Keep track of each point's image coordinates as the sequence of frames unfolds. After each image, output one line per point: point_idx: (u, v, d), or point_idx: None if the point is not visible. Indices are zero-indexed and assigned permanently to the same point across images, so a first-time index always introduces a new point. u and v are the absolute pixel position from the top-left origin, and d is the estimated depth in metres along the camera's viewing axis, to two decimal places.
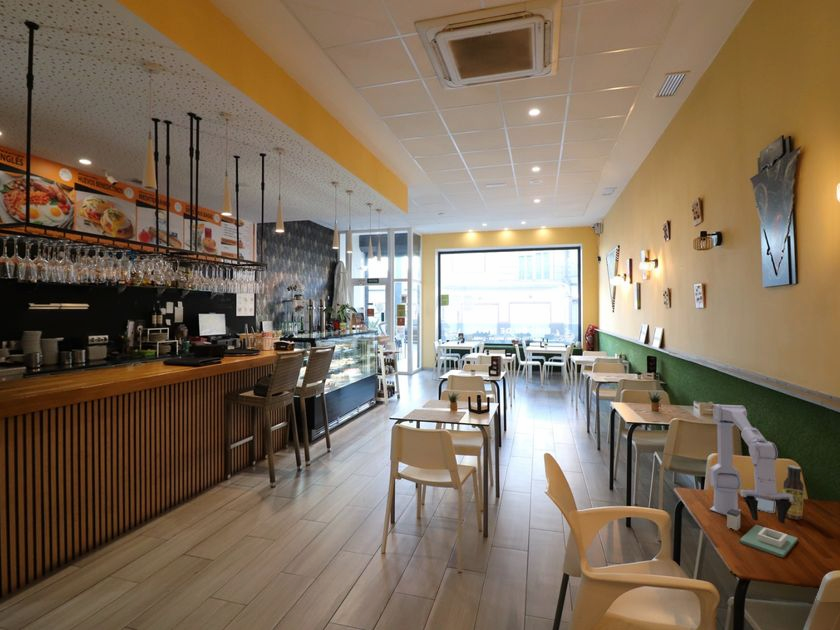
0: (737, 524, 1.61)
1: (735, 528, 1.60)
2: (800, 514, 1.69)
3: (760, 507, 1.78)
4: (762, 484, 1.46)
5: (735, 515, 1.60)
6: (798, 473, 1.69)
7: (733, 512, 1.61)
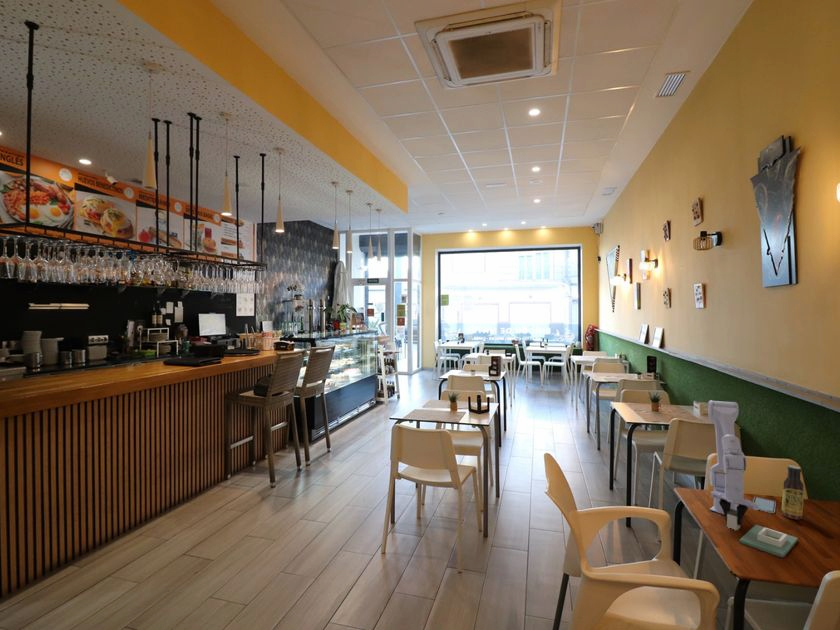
0: None
1: (735, 528, 1.60)
2: (800, 514, 1.69)
3: (760, 507, 1.78)
4: (726, 489, 1.63)
5: (735, 515, 1.60)
6: (798, 473, 1.69)
7: (733, 512, 1.61)
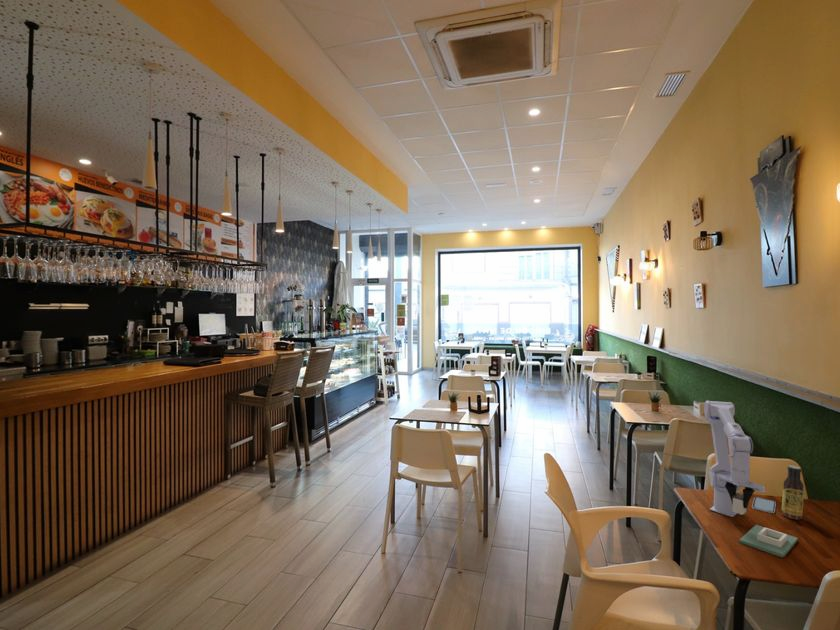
0: (743, 508, 1.59)
1: (741, 512, 1.58)
2: (800, 514, 1.69)
3: (760, 507, 1.78)
4: (732, 472, 1.61)
5: (741, 499, 1.58)
6: (798, 473, 1.69)
7: (738, 496, 1.60)
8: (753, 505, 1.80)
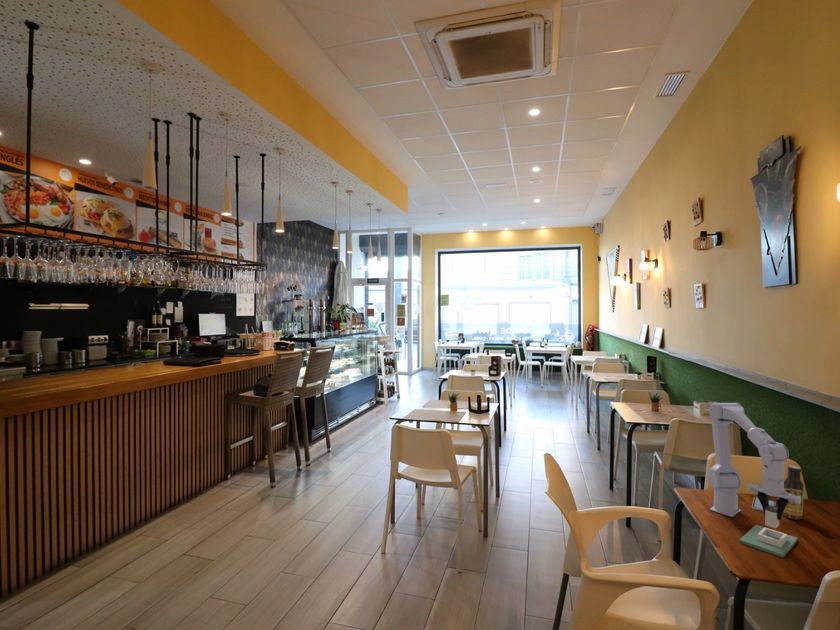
0: (776, 521, 1.50)
1: (774, 525, 1.49)
2: (800, 514, 1.69)
3: (760, 507, 1.78)
4: (764, 482, 1.52)
5: (774, 511, 1.49)
6: (798, 473, 1.69)
7: (771, 509, 1.51)
8: (753, 505, 1.80)
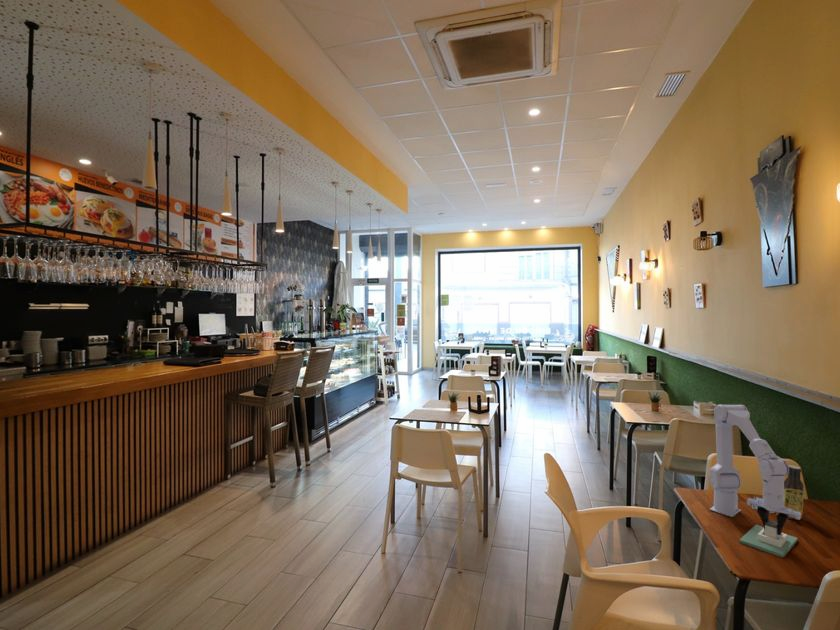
0: (776, 536, 1.50)
1: None
2: None
3: None
4: (764, 497, 1.52)
5: (774, 527, 1.49)
6: (798, 473, 1.69)
7: (771, 524, 1.51)
8: None
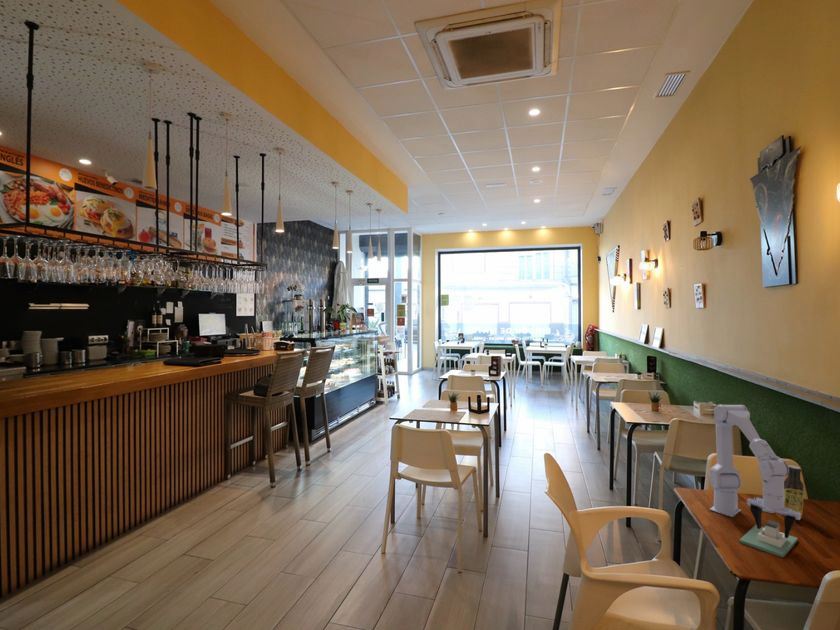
0: (776, 536, 1.50)
1: None
2: None
3: None
4: (764, 497, 1.52)
5: (774, 527, 1.49)
6: (798, 473, 1.69)
7: (771, 524, 1.51)
8: None
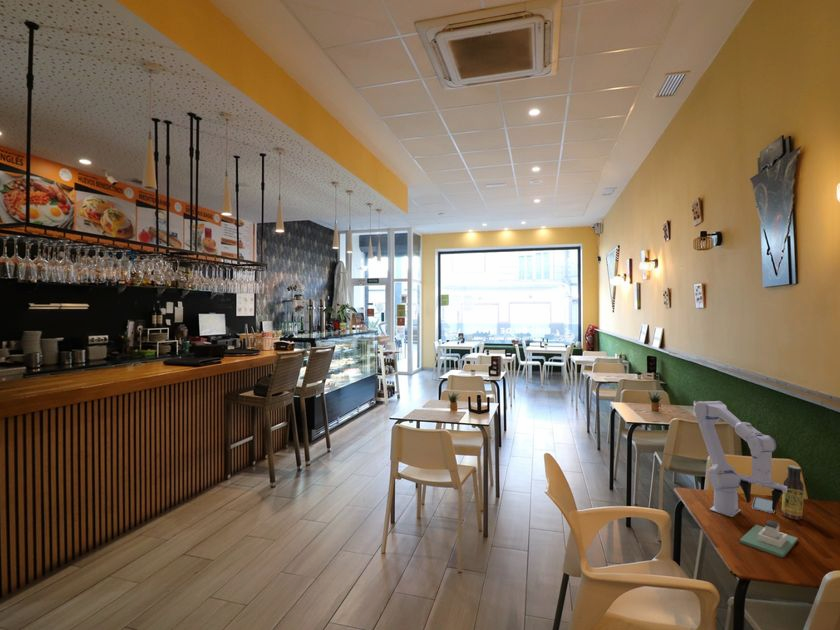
0: (776, 536, 1.50)
1: None
2: (800, 514, 1.69)
3: (760, 507, 1.79)
4: (753, 472, 1.60)
5: (774, 527, 1.49)
6: (798, 473, 1.69)
7: (771, 524, 1.51)
8: (753, 505, 1.80)
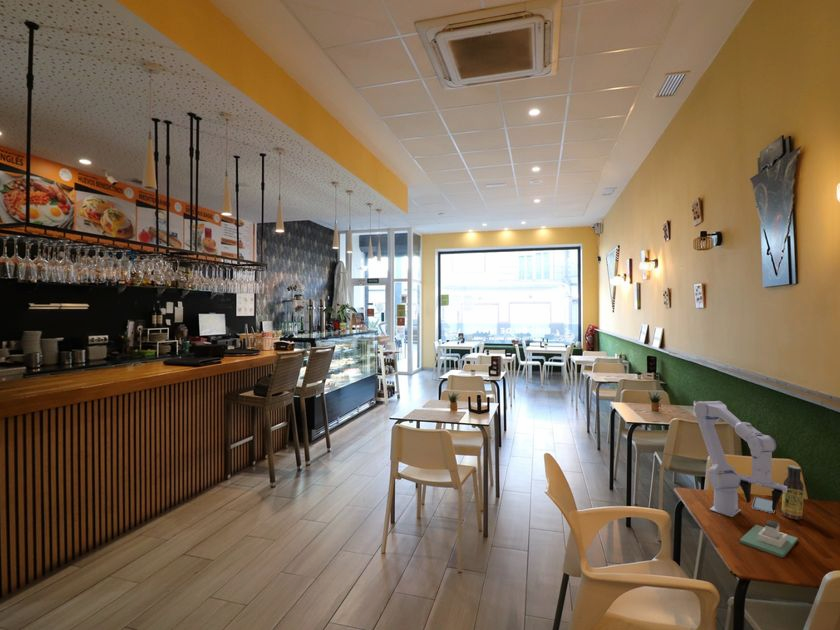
0: (776, 536, 1.50)
1: None
2: (800, 514, 1.69)
3: (760, 507, 1.79)
4: (753, 472, 1.60)
5: (774, 527, 1.49)
6: (798, 473, 1.69)
7: (771, 524, 1.51)
8: (753, 505, 1.80)
